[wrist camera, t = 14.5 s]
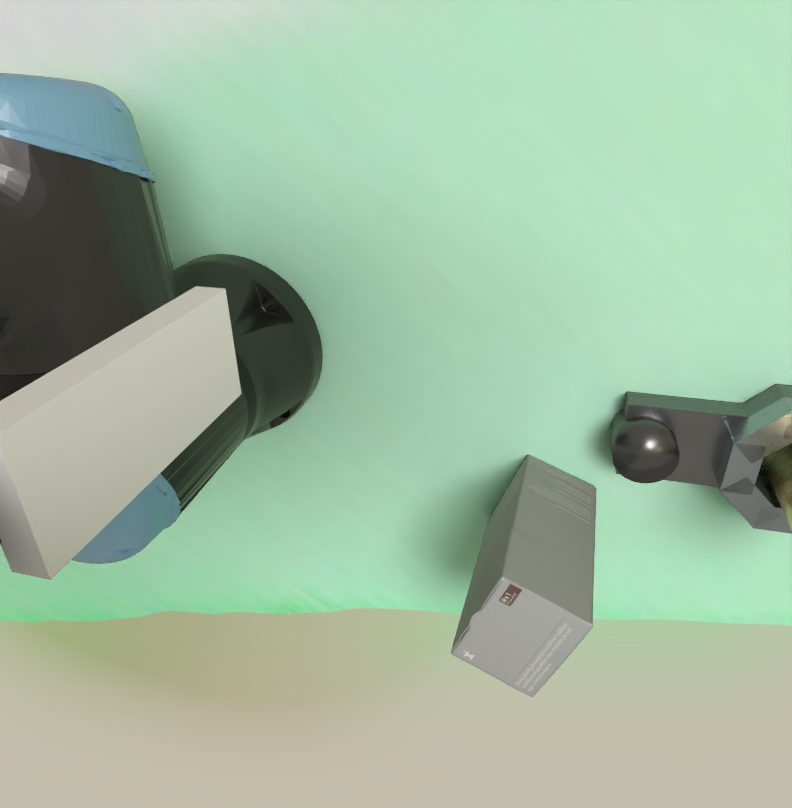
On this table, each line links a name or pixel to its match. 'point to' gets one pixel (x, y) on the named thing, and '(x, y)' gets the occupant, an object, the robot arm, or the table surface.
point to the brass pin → (781, 477)
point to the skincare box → (531, 579)
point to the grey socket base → (707, 446)
